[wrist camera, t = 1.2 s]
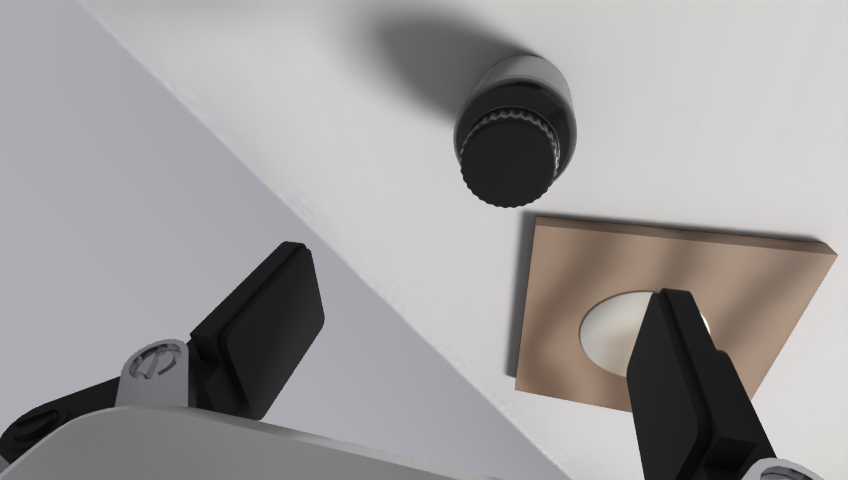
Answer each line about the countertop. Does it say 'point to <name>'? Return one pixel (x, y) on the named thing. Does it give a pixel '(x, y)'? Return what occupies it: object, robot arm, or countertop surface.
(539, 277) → the walnut board
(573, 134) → the supplement bottle
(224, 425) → the robot arm
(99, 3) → the countertop surface
